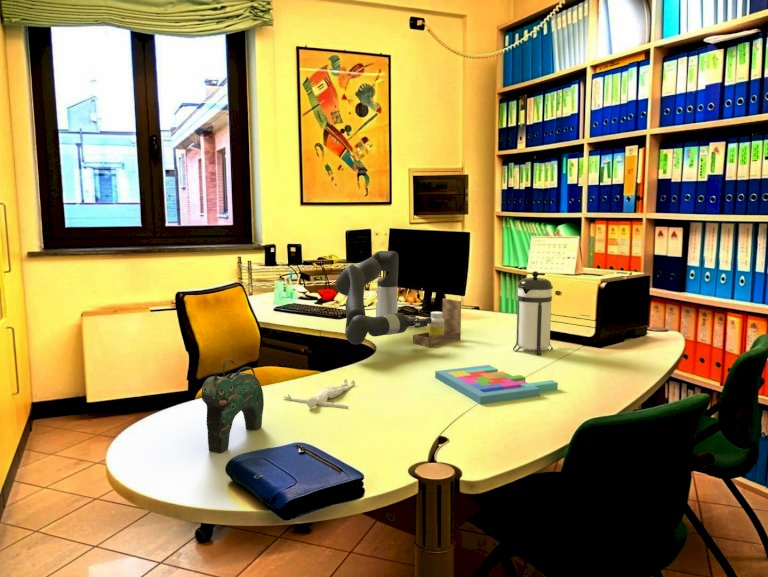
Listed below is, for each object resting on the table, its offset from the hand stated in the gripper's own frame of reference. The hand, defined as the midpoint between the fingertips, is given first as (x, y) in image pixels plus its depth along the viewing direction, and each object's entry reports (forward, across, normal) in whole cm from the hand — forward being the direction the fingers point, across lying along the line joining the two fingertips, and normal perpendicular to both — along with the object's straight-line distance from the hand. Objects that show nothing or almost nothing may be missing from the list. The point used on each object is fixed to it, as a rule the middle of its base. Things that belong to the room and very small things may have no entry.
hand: (422, 319), depth 240 cm
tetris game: (-20, -52, +12) cm, 57 cm away
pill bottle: (+9, +1, +10) cm, 13 cm away
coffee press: (+26, -33, +11) cm, 43 cm away
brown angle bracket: (+9, +1, +10) cm, 14 cm away
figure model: (-65, -25, +13) cm, 71 cm away
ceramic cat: (-101, -37, +13) cm, 109 cm away
